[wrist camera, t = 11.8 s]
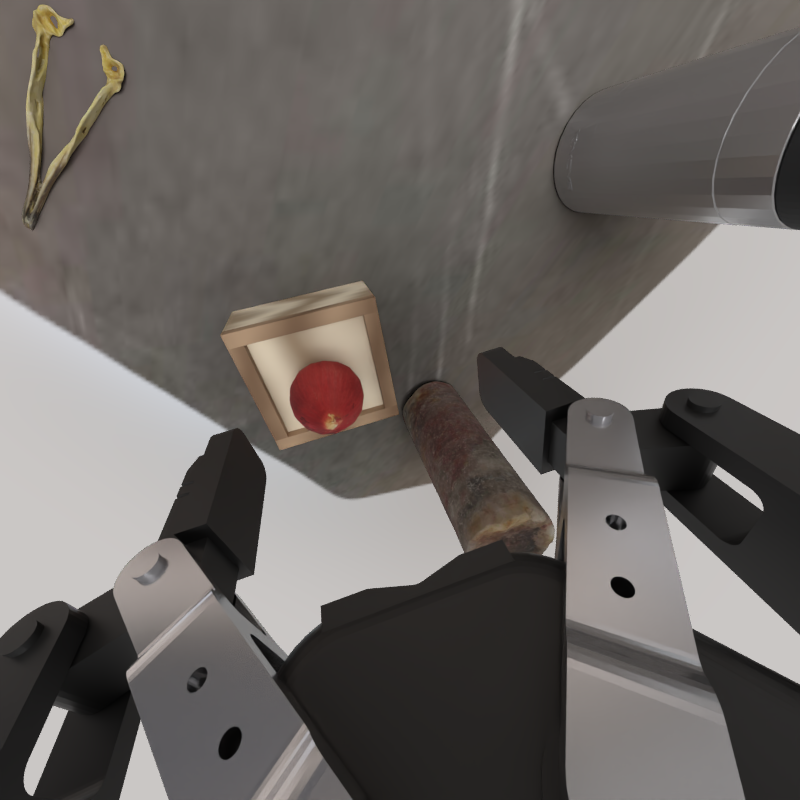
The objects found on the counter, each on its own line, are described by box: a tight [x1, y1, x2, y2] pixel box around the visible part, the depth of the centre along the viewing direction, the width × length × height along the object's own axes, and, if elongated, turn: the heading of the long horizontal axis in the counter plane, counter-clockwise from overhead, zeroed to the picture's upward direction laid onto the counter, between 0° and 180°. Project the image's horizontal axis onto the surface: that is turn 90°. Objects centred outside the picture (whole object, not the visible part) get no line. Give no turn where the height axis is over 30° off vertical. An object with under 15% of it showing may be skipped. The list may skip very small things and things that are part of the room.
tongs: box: [22, 5, 124, 230], centre depth 21 cm, size 4×13×2 cm, turn 147°
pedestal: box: [220, 281, 399, 450], centre depth 31 cm, size 12×12×6 cm
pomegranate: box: [290, 361, 364, 435], centre depth 26 cm, size 6×6×8 cm
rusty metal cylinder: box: [403, 381, 555, 555], centre depth 32 cm, size 8×7×20 cm
